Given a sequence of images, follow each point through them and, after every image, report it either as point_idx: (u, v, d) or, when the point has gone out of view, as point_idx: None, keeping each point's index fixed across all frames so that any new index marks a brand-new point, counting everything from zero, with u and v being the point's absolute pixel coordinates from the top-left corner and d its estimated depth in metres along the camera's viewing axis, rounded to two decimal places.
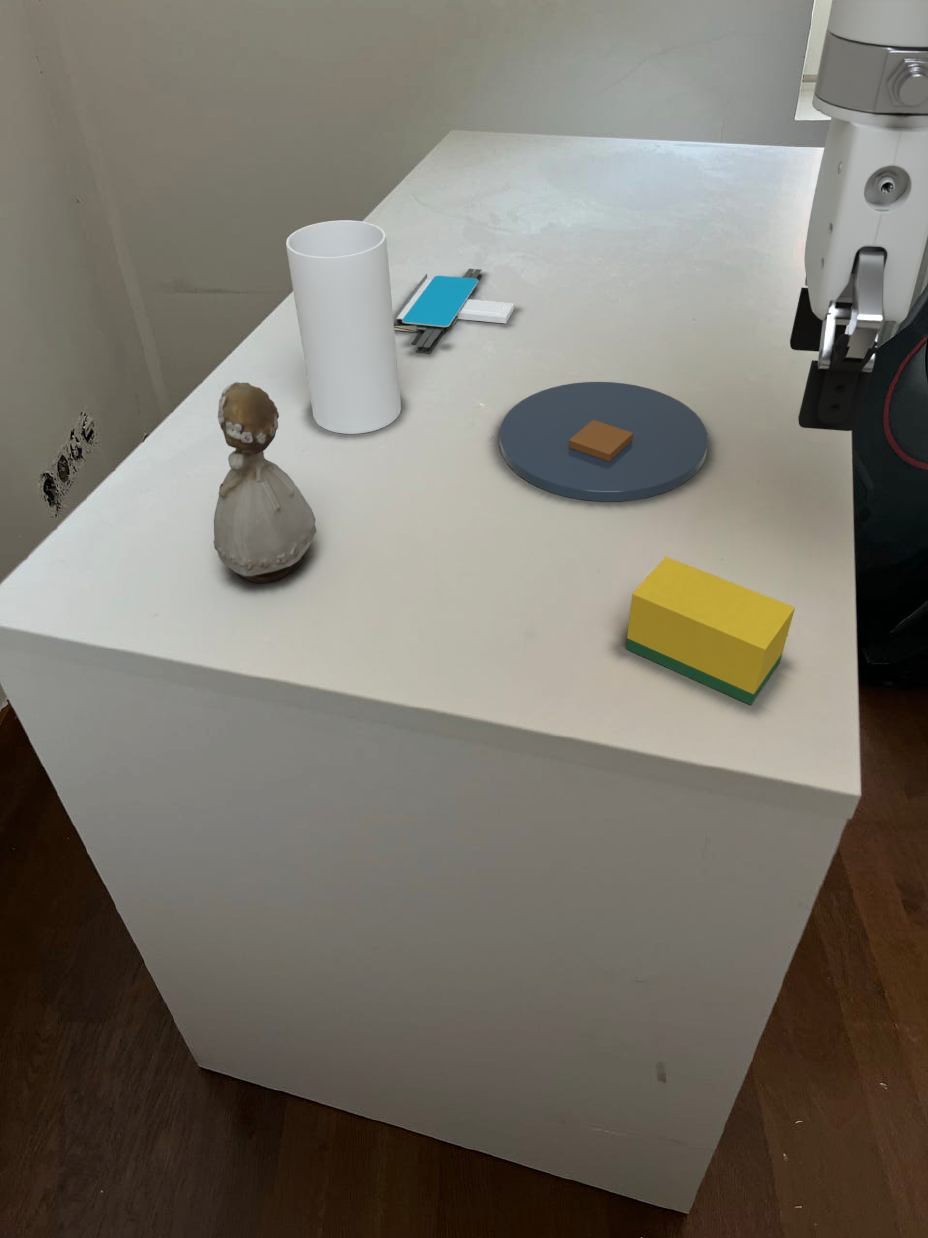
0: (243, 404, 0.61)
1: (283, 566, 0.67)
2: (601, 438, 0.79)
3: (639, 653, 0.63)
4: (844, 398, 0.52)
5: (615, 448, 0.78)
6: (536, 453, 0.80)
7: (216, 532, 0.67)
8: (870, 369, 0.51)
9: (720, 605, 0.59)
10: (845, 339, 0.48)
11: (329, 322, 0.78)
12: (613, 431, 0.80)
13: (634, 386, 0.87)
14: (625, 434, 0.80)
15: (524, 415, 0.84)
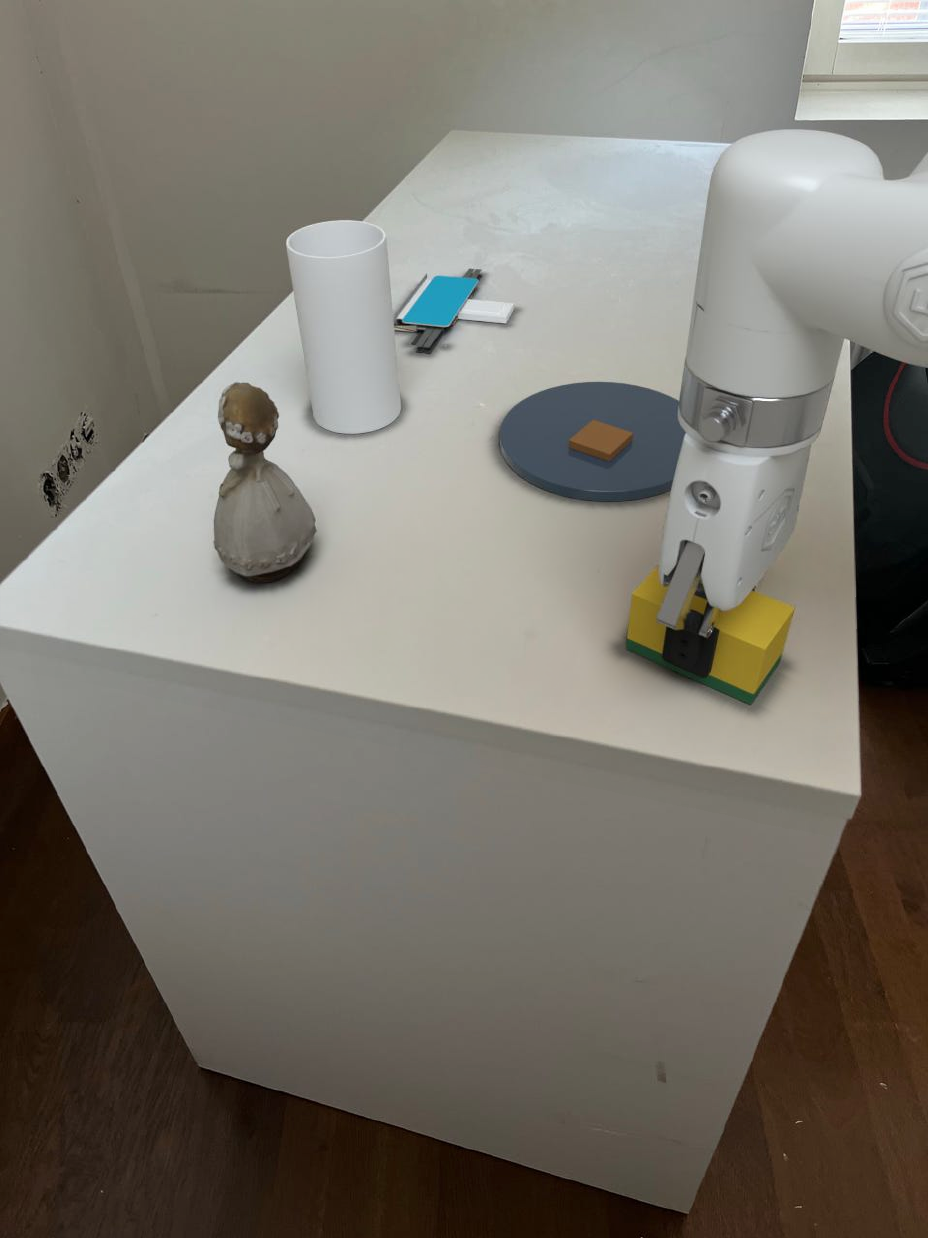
0: (243, 404, 0.61)
1: (283, 566, 0.67)
2: (601, 438, 0.79)
3: (639, 653, 0.63)
4: (689, 651, 0.58)
5: (615, 448, 0.78)
6: (536, 453, 0.80)
7: (216, 532, 0.67)
8: (704, 636, 0.56)
9: None
10: None
11: (329, 322, 0.78)
12: (613, 431, 0.80)
13: (634, 386, 0.87)
14: (625, 434, 0.80)
15: (524, 415, 0.84)
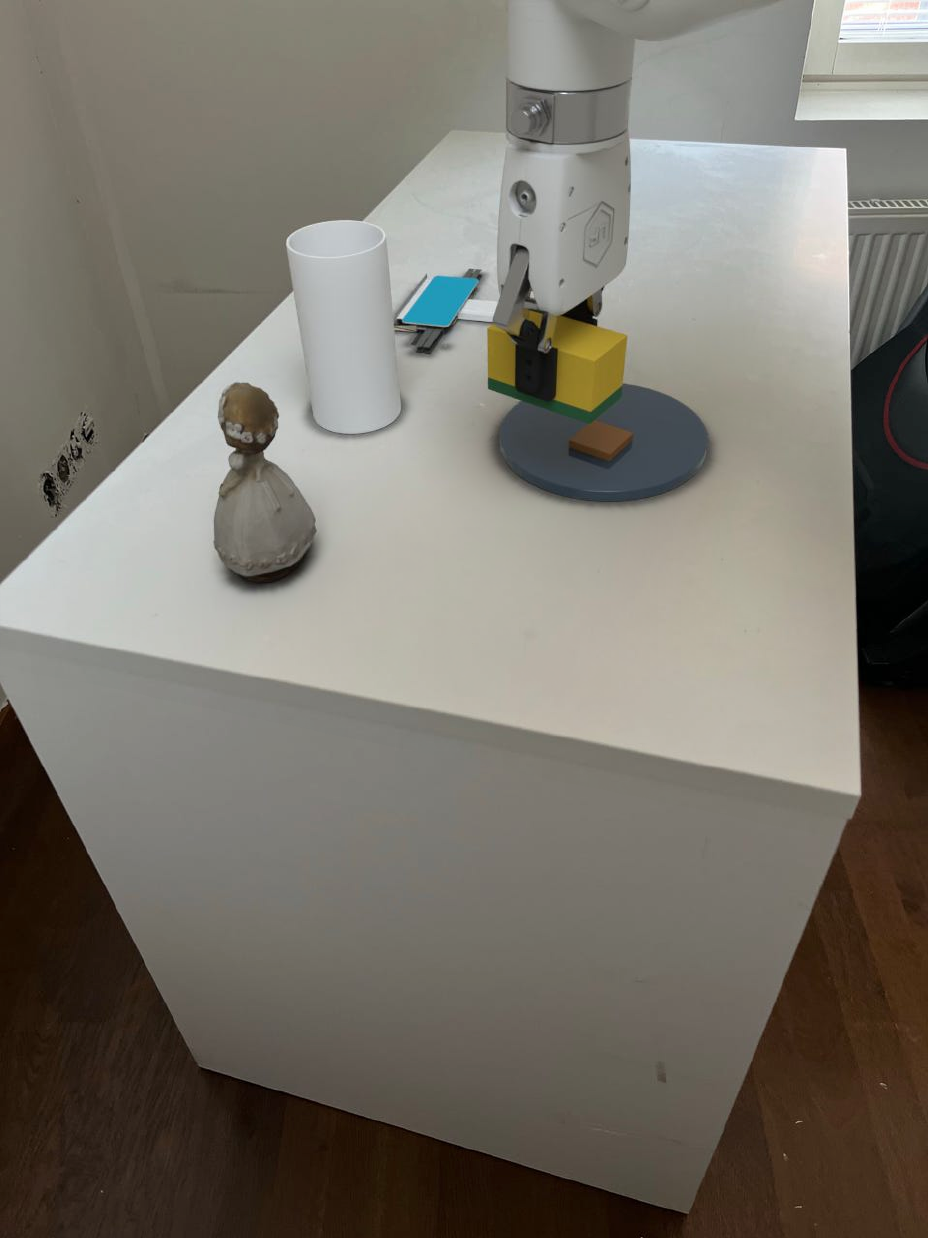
0: (243, 404, 0.61)
1: (283, 566, 0.67)
2: (601, 438, 0.79)
3: (498, 391, 0.71)
4: (533, 371, 0.66)
5: (615, 448, 0.78)
6: (536, 453, 0.80)
7: (216, 532, 0.67)
8: (542, 350, 0.64)
9: (562, 334, 0.67)
10: None
11: (329, 322, 0.78)
12: (613, 431, 0.80)
13: (634, 386, 0.87)
14: (625, 434, 0.80)
15: (524, 415, 0.84)
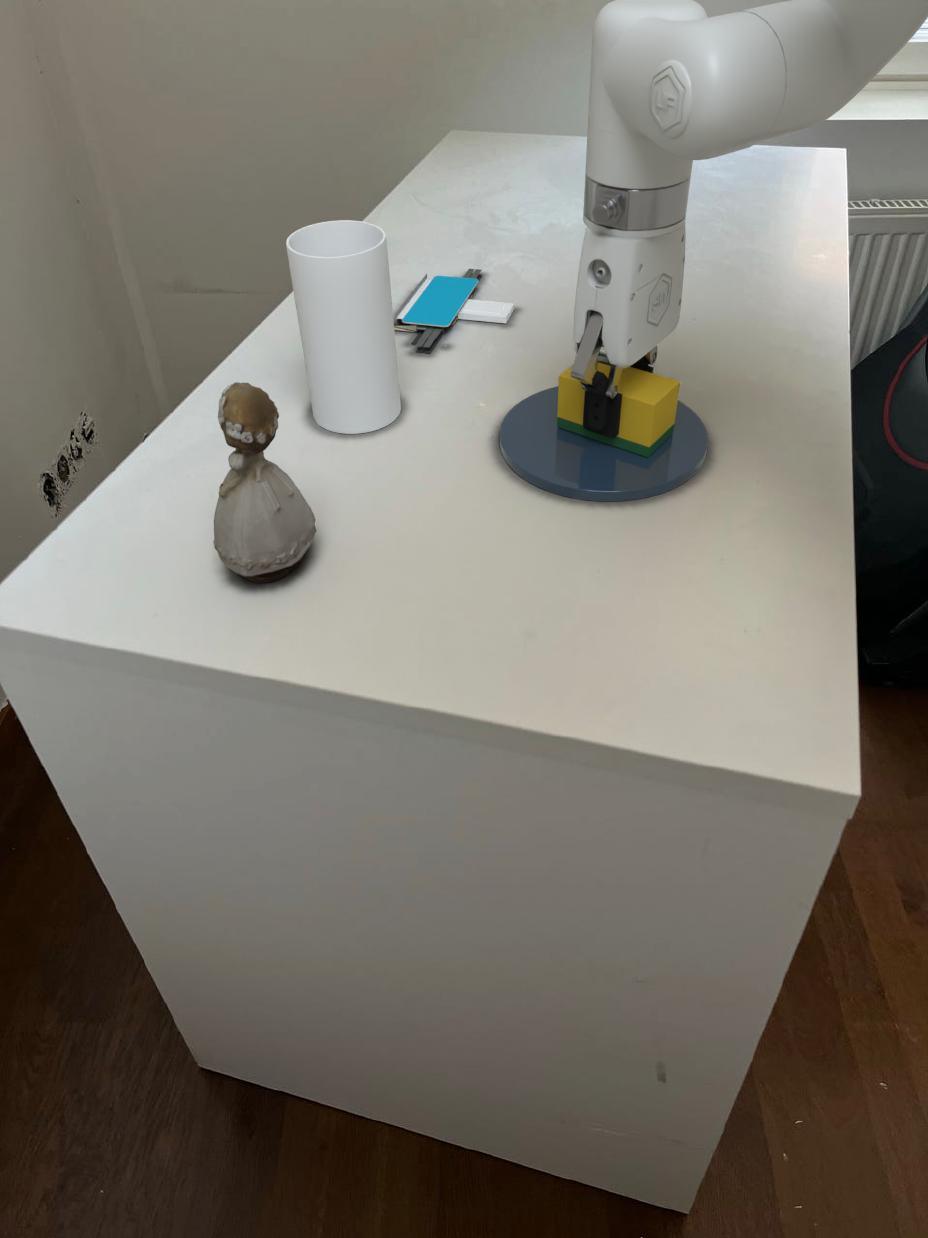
0: (243, 404, 0.61)
1: (283, 566, 0.67)
2: None
3: (566, 428, 0.82)
4: (600, 413, 0.77)
5: None
6: (536, 453, 0.80)
7: (216, 532, 0.67)
8: (610, 396, 0.75)
9: (624, 380, 0.78)
10: None
11: (329, 322, 0.78)
12: None
13: None
14: None
15: (524, 415, 0.84)
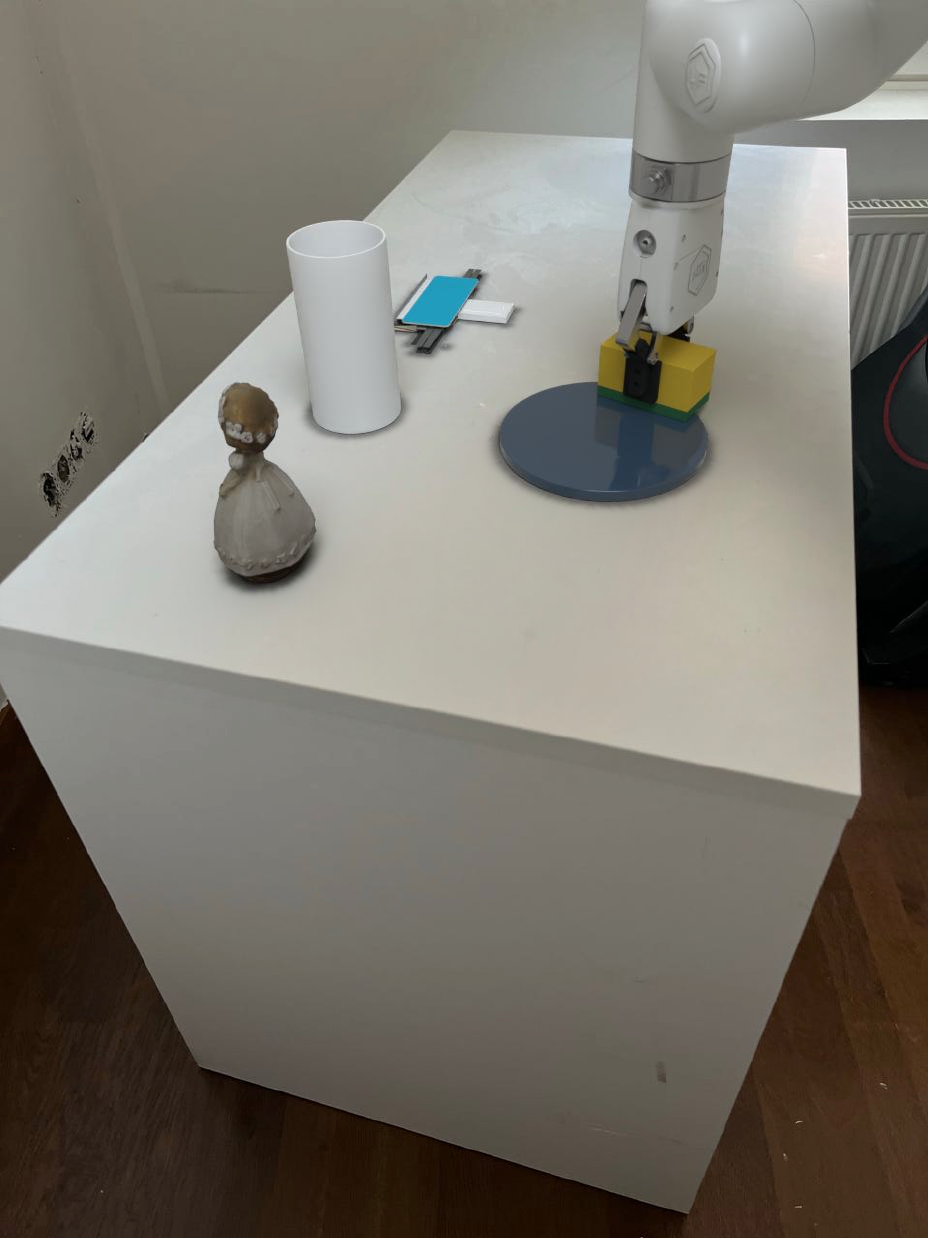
0: (243, 404, 0.61)
1: (283, 566, 0.67)
2: None
3: (606, 396, 0.86)
4: (641, 379, 0.81)
5: None
6: (536, 453, 0.80)
7: (216, 532, 0.67)
8: (650, 362, 0.79)
9: (663, 349, 0.82)
10: None
11: (329, 322, 0.78)
12: None
13: None
14: None
15: (524, 415, 0.84)
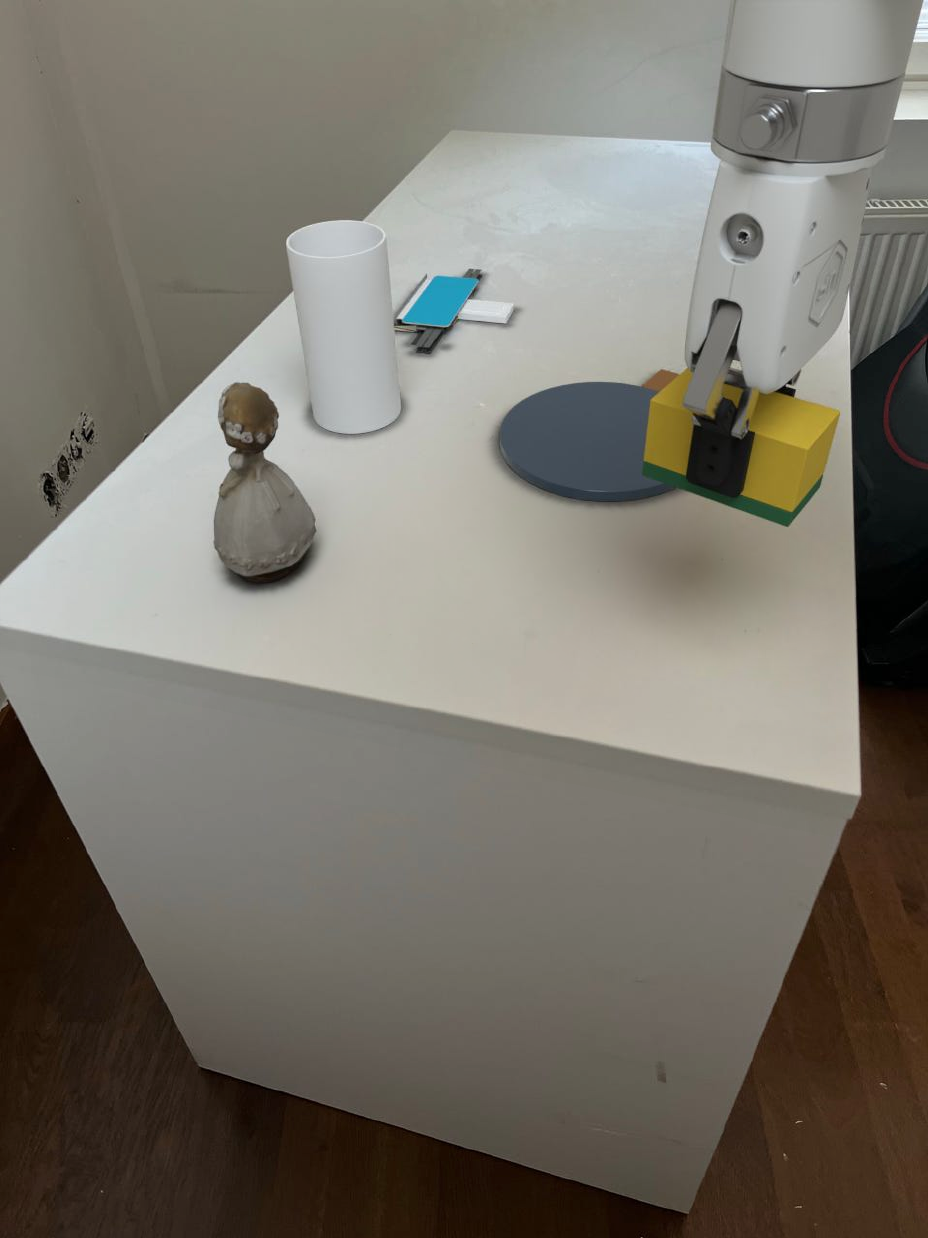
0: (243, 404, 0.61)
1: (283, 566, 0.67)
2: None
3: (657, 478, 0.54)
4: (719, 461, 0.50)
5: None
6: (536, 453, 0.80)
7: (216, 532, 0.67)
8: (738, 436, 0.48)
9: None
10: None
11: (329, 322, 0.78)
12: None
13: (634, 386, 0.87)
14: None
15: (524, 415, 0.84)
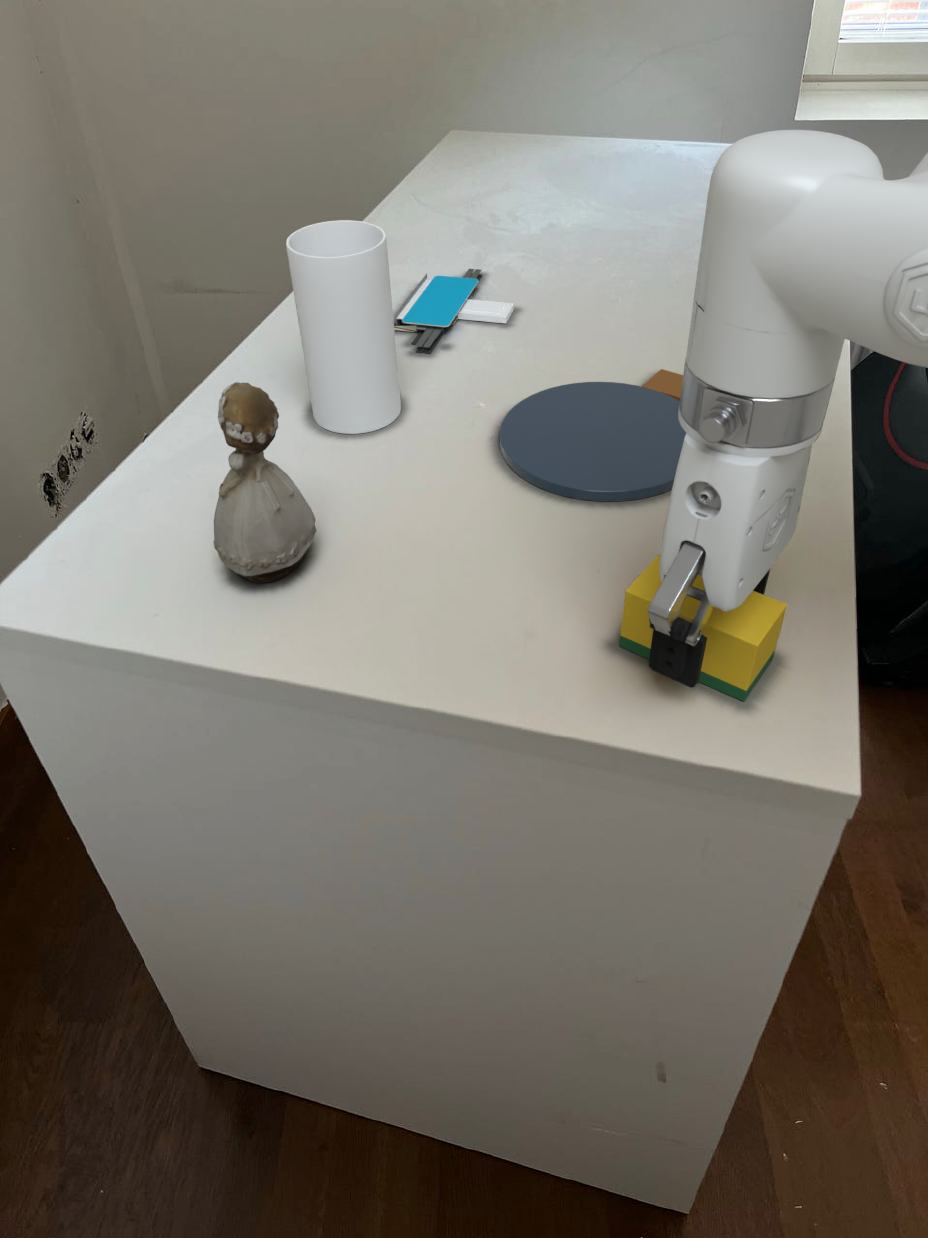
0: (243, 404, 0.61)
1: (283, 566, 0.67)
2: (671, 384, 0.88)
3: (632, 650, 0.63)
4: (676, 660, 0.56)
5: None
6: (536, 453, 0.80)
7: (216, 532, 0.67)
8: (691, 644, 0.54)
9: None
10: None
11: (329, 322, 0.78)
12: (681, 378, 0.89)
13: (634, 386, 0.87)
14: None
15: (524, 415, 0.84)
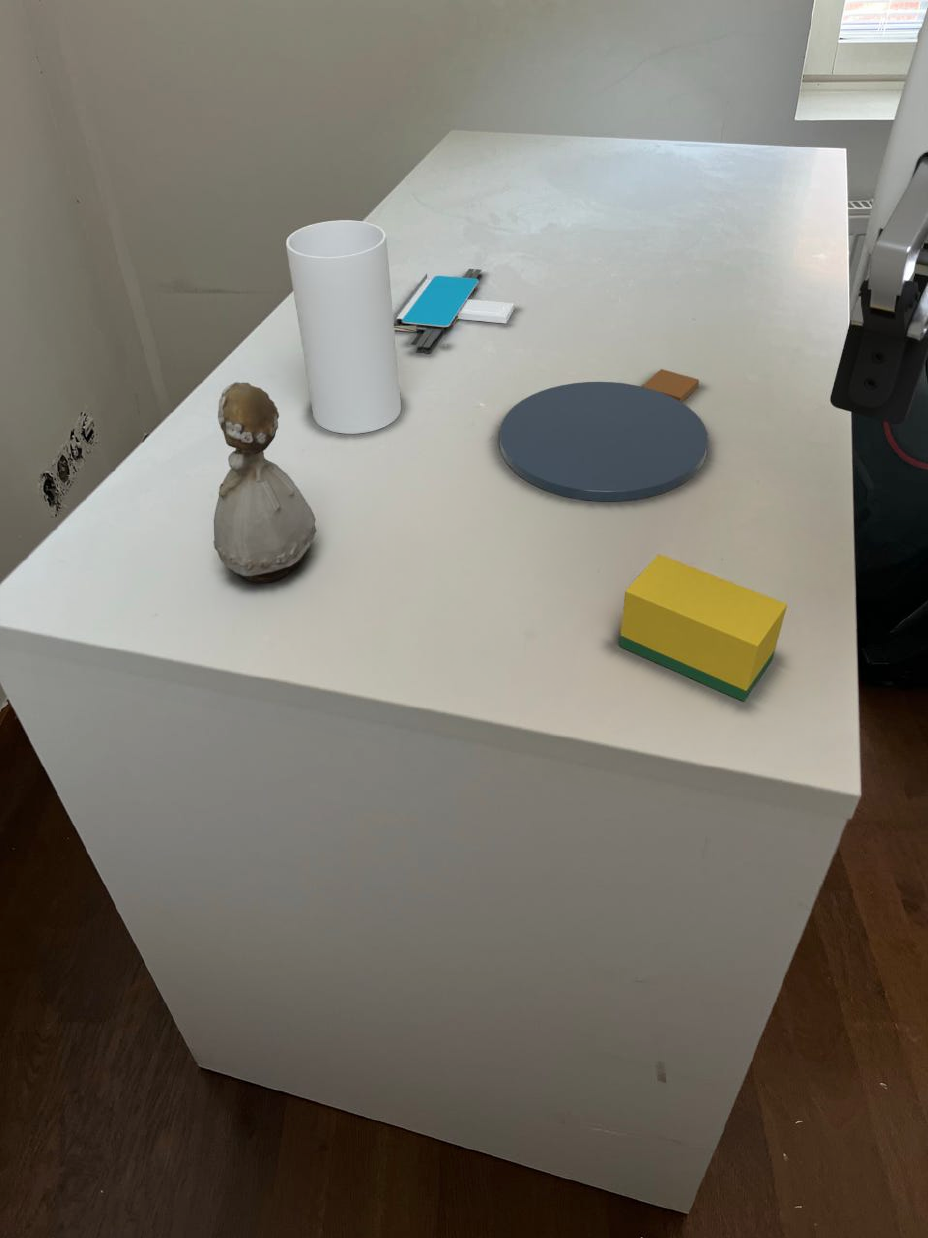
0: (243, 404, 0.61)
1: (283, 566, 0.67)
2: (671, 384, 0.88)
3: (632, 650, 0.63)
4: (883, 373, 0.38)
5: (684, 392, 0.87)
6: (536, 453, 0.80)
7: (216, 532, 0.67)
8: (917, 335, 0.36)
9: (713, 602, 0.59)
10: None
11: (329, 322, 0.78)
12: (681, 378, 0.89)
13: (634, 386, 0.87)
14: (692, 380, 0.88)
15: (524, 415, 0.84)
